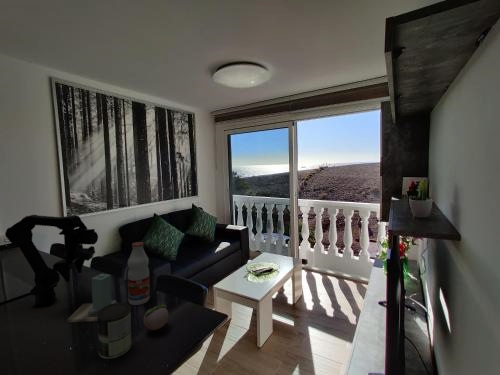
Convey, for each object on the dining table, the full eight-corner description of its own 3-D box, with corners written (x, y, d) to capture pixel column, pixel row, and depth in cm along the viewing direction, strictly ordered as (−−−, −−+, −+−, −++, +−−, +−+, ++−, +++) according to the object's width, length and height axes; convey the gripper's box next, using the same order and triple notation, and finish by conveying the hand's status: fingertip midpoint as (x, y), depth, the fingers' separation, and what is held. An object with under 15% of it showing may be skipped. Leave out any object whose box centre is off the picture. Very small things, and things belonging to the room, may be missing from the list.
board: (67, 322, 102) (66, 313, 102) (83, 306, 114) (83, 298, 114) (107, 320, 104) (107, 311, 104) (119, 304, 116) (118, 296, 116)
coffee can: (92, 360, 83) (90, 319, 82) (107, 338, 93) (106, 302, 92) (124, 358, 84) (123, 318, 83) (136, 337, 94) (135, 301, 93)
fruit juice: (150, 294, 126) (149, 239, 124) (149, 303, 117) (148, 245, 115) (129, 297, 123) (128, 241, 120) (127, 307, 114) (125, 247, 112)
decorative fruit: (153, 340, 93) (153, 314, 92) (140, 332, 97) (139, 307, 96) (173, 326, 101) (173, 303, 100) (160, 320, 105) (159, 297, 104)
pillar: (92, 308, 107) (91, 276, 105) (102, 301, 111) (101, 271, 110) (102, 309, 105) (101, 278, 104) (111, 303, 110) (110, 273, 109)
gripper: (79, 250, 105) (81, 286, 106) (101, 237, 123) (102, 268, 125) (51, 250, 104) (53, 287, 105) (76, 238, 122) (78, 269, 124)
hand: (74, 277), depth 115 cm, fingers open, 9 cm apart
